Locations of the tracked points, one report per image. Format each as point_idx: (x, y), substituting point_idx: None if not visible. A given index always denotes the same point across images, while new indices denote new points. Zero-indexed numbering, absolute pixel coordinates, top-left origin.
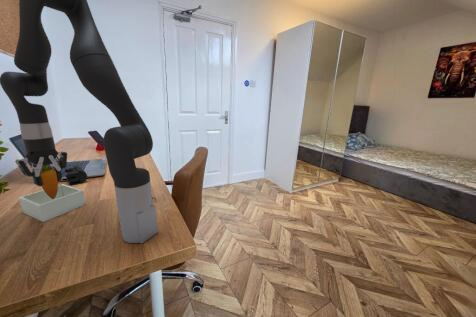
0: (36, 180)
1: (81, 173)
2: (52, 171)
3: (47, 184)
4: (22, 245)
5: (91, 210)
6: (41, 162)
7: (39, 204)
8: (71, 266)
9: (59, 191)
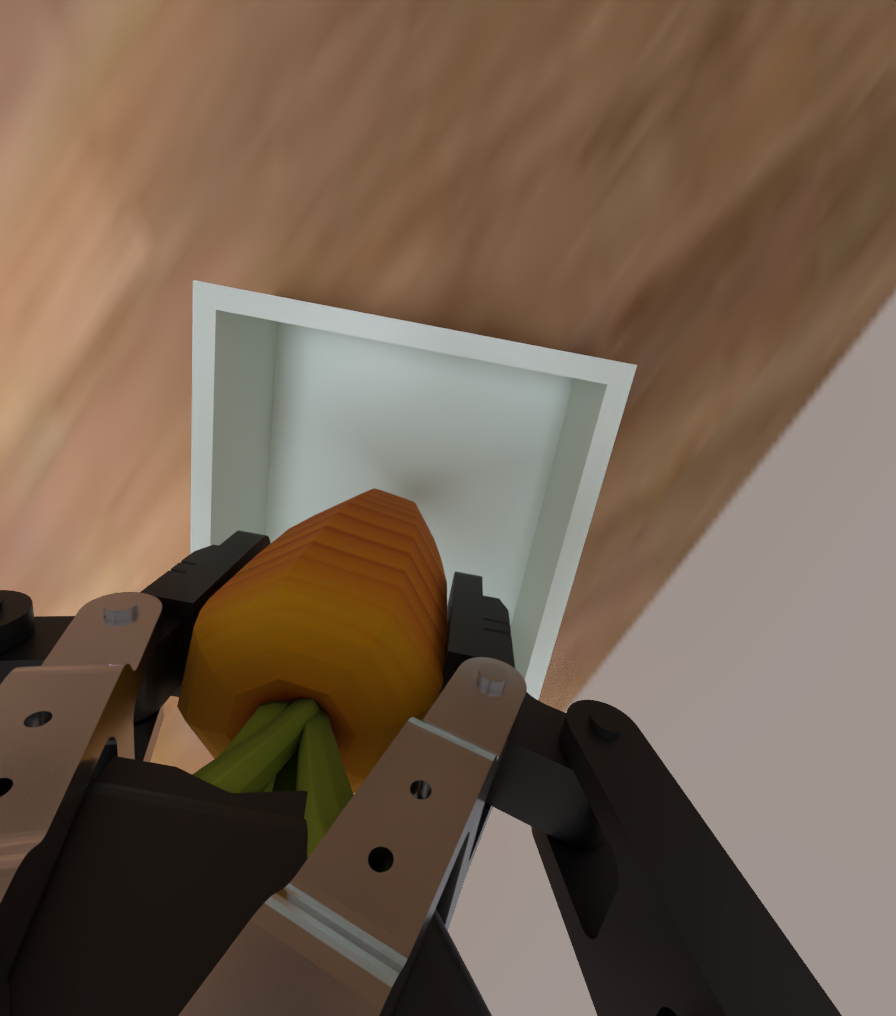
0: (500, 642)
1: None
2: (256, 604)
3: (418, 536)
4: (888, 156)
5: (327, 124)
6: (324, 892)
7: (605, 397)
8: None
9: None
